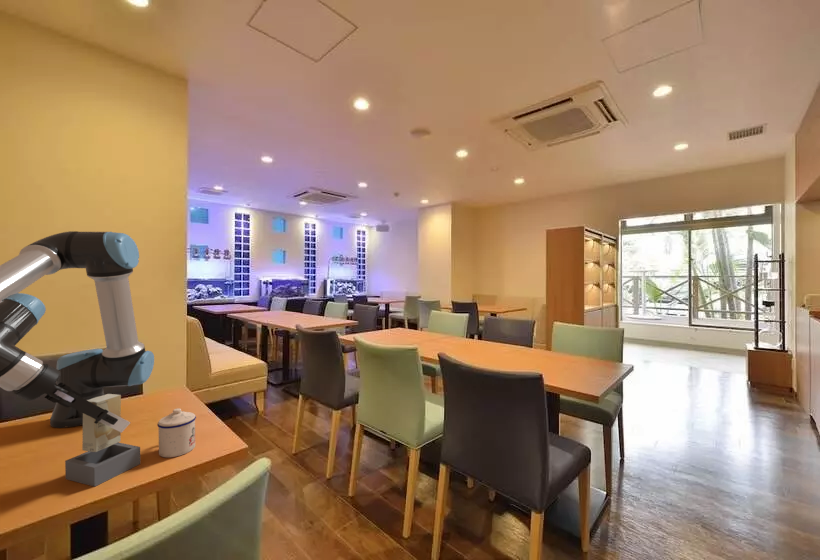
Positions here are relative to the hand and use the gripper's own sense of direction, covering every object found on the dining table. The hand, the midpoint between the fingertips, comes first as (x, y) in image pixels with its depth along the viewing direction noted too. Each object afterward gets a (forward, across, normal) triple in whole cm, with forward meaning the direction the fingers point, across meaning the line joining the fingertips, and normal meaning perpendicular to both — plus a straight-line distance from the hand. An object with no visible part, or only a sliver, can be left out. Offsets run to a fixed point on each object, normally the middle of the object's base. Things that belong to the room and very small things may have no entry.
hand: (120, 424), depth 92 cm
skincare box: (0, 0, -6) cm, 6 cm away
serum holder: (+5, 0, -10) cm, 11 cm away
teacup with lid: (+16, +2, +1) cm, 17 cm away
